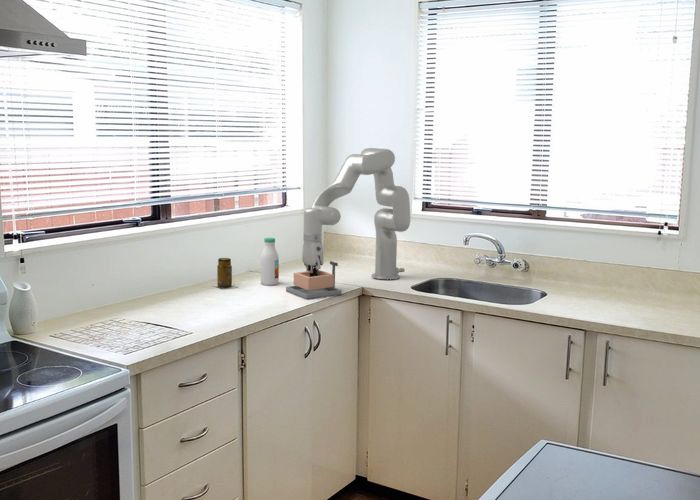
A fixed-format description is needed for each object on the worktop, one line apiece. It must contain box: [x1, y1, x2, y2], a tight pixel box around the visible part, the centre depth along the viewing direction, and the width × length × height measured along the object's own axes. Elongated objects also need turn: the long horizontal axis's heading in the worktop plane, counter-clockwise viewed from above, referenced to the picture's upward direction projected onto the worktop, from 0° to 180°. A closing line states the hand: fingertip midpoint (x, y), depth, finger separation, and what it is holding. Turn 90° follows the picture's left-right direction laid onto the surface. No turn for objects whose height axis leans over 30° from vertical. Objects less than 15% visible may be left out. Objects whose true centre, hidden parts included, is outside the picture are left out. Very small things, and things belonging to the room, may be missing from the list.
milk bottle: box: [260, 237, 280, 286], centre depth 329 cm, size 8×8×20 cm
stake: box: [329, 260, 339, 288], centre depth 323 cm, size 1×5×11 cm, turn 34°
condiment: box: [212, 257, 237, 290], centre depth 322 cm, size 7×8×12 cm
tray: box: [285, 285, 342, 300], centre depth 313 cm, size 17×17×2 cm
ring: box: [293, 269, 334, 290], centre depth 313 cm, size 12×12×5 cm
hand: (311, 281), depth 319 cm, fingers closed on ring, 1 cm apart
